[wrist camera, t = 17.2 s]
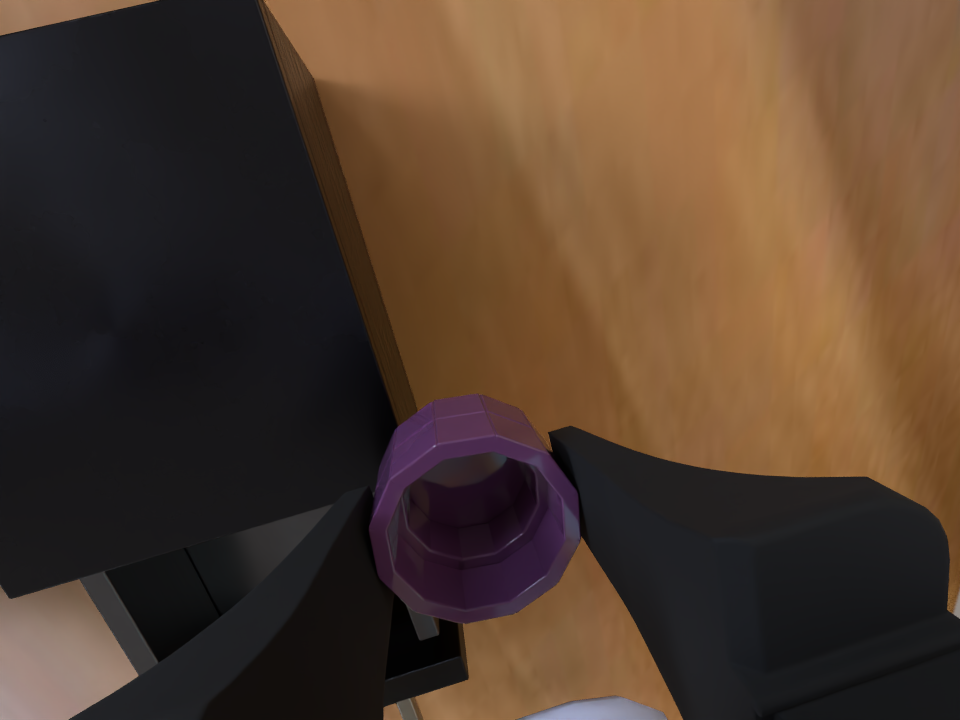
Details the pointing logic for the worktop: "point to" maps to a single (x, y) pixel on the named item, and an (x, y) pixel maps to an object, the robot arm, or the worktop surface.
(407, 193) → the worktop surface
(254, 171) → the cabinet
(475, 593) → the purple cup
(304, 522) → the drawer
